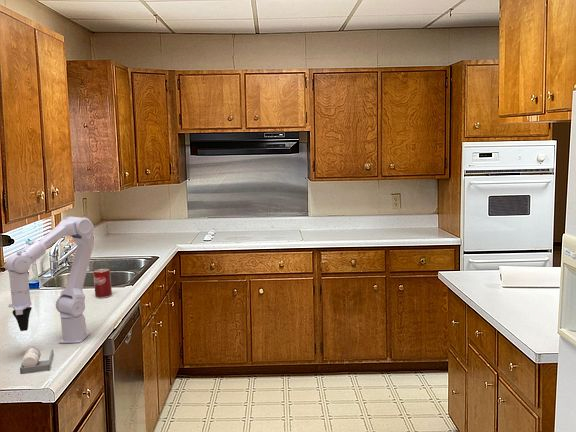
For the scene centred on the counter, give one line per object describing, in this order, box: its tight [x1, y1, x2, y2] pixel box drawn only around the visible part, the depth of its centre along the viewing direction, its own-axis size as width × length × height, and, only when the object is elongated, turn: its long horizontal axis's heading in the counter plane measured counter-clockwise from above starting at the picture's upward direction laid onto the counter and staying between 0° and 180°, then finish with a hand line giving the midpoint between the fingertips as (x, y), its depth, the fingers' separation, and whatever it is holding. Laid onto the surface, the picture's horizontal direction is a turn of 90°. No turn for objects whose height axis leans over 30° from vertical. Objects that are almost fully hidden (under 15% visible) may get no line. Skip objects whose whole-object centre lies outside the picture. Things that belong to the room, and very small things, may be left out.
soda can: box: [92, 268, 113, 299], centre depth 295 cm, size 7×7×12 cm
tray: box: [19, 349, 55, 375], centre depth 211 cm, size 15×9×2 cm, turn 15°
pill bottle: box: [22, 347, 42, 367], centre depth 209 cm, size 5×5×8 cm
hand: (24, 330), depth 220 cm, fingers closed
